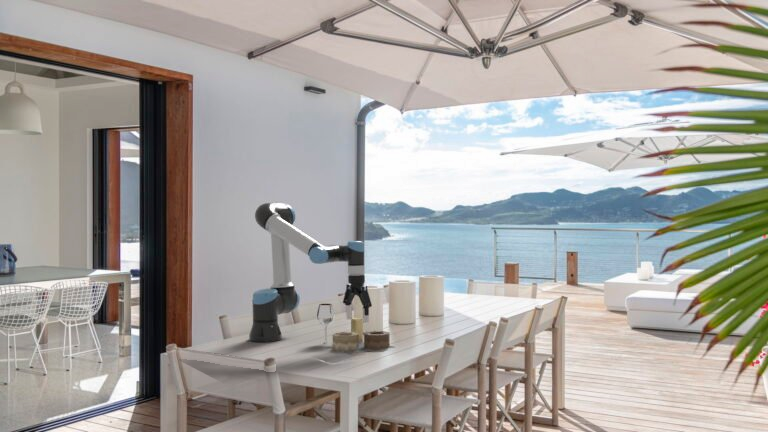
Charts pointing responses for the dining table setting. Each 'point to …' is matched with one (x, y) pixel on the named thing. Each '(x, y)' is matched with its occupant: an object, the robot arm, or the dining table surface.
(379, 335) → the walnut bead
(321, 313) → the wineglass
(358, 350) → the mat
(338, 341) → the beech bead
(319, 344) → the dining table surface
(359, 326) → the yellow peg
